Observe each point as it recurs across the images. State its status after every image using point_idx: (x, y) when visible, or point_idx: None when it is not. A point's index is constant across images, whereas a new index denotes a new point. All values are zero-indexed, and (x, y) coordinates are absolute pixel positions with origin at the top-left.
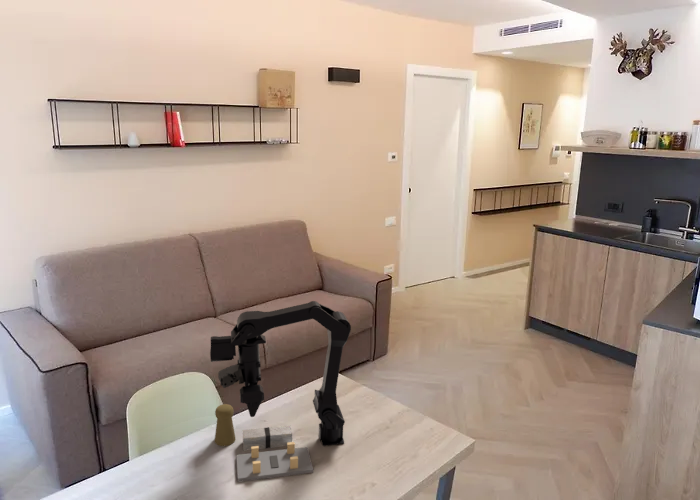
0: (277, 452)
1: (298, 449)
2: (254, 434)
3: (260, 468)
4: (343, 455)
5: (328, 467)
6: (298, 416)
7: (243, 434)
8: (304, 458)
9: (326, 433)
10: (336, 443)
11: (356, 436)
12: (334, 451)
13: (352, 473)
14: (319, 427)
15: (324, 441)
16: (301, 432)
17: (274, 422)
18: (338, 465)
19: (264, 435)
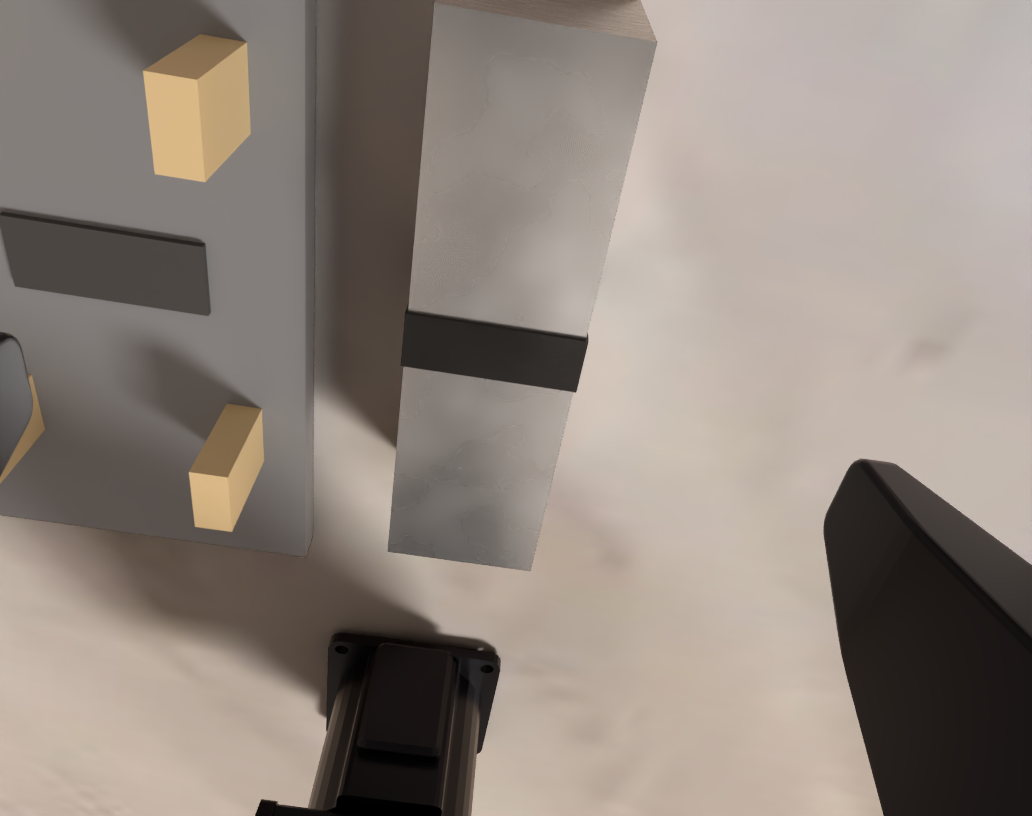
0: (267, 330)
1: (282, 495)
2: (485, 191)
3: None
4: (205, 686)
5: (77, 587)
6: (806, 603)
7: (539, 32)
8: (146, 500)
9: (345, 729)
10: (328, 699)
11: None
12: (258, 661)
13: (10, 671)
14: (408, 729)
15: (364, 657)
16: (566, 562)
17: (837, 421)
18: (97, 637)
19: (426, 304)
